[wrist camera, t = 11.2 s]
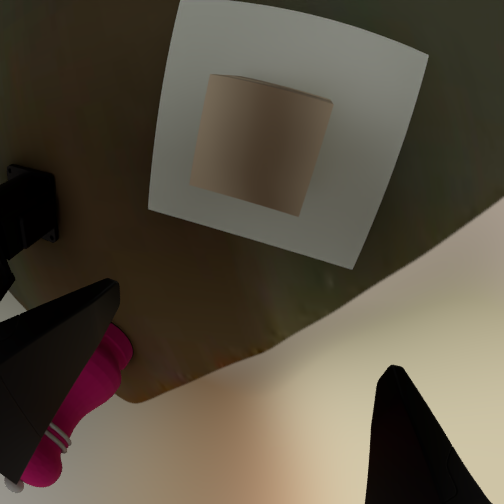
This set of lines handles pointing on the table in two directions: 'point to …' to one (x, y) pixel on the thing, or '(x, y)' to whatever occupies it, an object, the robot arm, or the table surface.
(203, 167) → the birch cube
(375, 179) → the sage plate
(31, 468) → the pepper mill
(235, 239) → the table surface
